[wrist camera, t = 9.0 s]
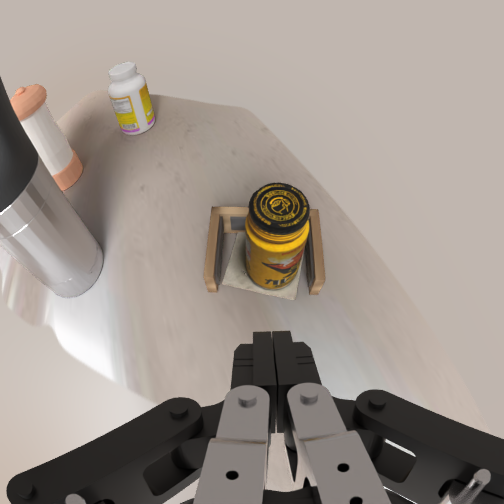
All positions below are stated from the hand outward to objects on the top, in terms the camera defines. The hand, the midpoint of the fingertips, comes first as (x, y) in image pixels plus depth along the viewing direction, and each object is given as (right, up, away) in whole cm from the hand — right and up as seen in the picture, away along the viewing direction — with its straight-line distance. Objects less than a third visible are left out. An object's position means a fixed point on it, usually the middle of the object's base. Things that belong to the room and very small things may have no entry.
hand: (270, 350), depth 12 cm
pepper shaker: (-33, +17, +33) cm, 49 cm away
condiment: (+1, +2, +24) cm, 24 cm away
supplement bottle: (-22, +27, +38) cm, 52 cm away
